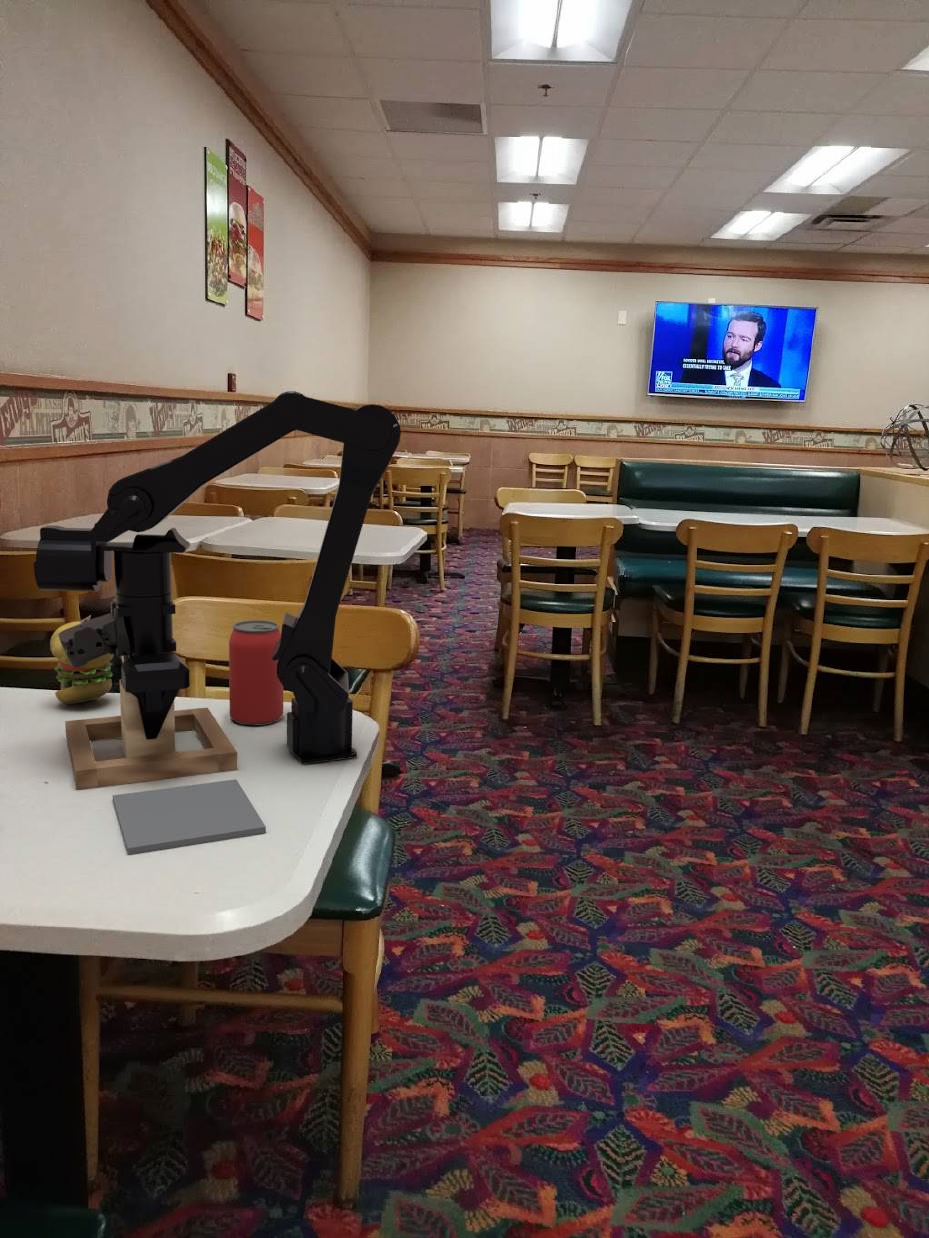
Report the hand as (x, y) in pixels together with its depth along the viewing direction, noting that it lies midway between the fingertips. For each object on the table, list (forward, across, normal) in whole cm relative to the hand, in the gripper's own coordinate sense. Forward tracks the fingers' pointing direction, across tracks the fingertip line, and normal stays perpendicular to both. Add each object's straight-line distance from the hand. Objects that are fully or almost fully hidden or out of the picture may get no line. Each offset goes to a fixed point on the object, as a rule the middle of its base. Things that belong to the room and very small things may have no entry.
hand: (147, 730), depth 103 cm
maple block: (+3, 0, 0) cm, 3 cm away
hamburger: (+3, -20, -5) cm, 21 cm away
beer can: (+3, -8, +14) cm, 16 cm away
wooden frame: (+3, 0, 0) cm, 3 cm away
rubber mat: (+3, +18, +1) cm, 18 cm away
